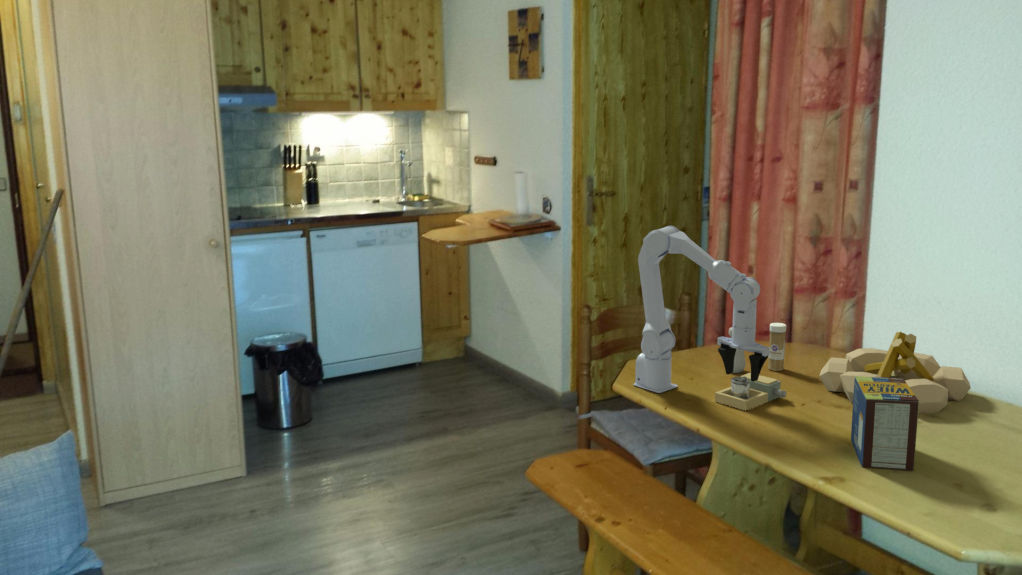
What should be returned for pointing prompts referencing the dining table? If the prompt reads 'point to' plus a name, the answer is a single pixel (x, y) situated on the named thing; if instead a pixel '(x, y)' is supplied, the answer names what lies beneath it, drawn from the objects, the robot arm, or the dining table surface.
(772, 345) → the sprinkles bottle
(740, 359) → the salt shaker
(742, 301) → the robot arm
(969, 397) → the dining table surface
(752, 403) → the drawer
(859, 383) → the protein box
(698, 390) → the dining table surface
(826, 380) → the campfire
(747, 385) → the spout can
